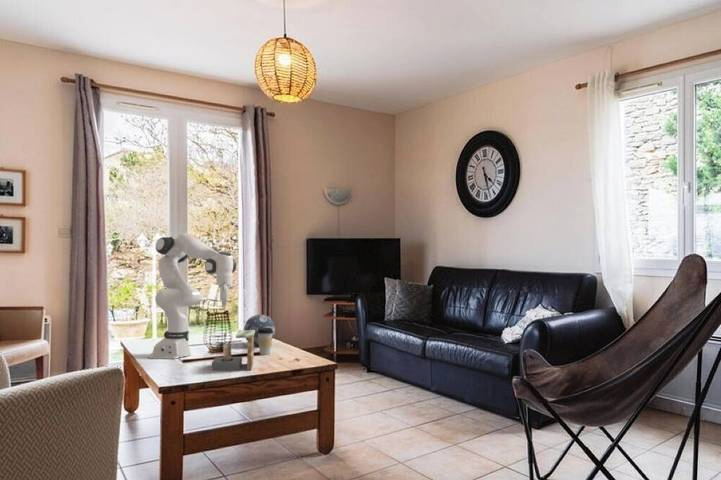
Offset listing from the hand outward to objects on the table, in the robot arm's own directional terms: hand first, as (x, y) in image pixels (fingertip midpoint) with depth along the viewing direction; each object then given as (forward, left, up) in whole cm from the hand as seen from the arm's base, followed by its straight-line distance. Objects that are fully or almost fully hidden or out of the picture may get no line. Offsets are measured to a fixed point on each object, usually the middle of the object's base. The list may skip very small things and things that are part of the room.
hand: (223, 306), depth 272 cm
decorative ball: (+17, +41, -31) cm, 54 cm away
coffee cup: (+22, +16, -31) cm, 41 cm away
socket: (+4, -14, -31) cm, 34 cm away
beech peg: (+4, -14, -31) cm, 34 cm away
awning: (+13, -14, -31) cm, 36 cm away
